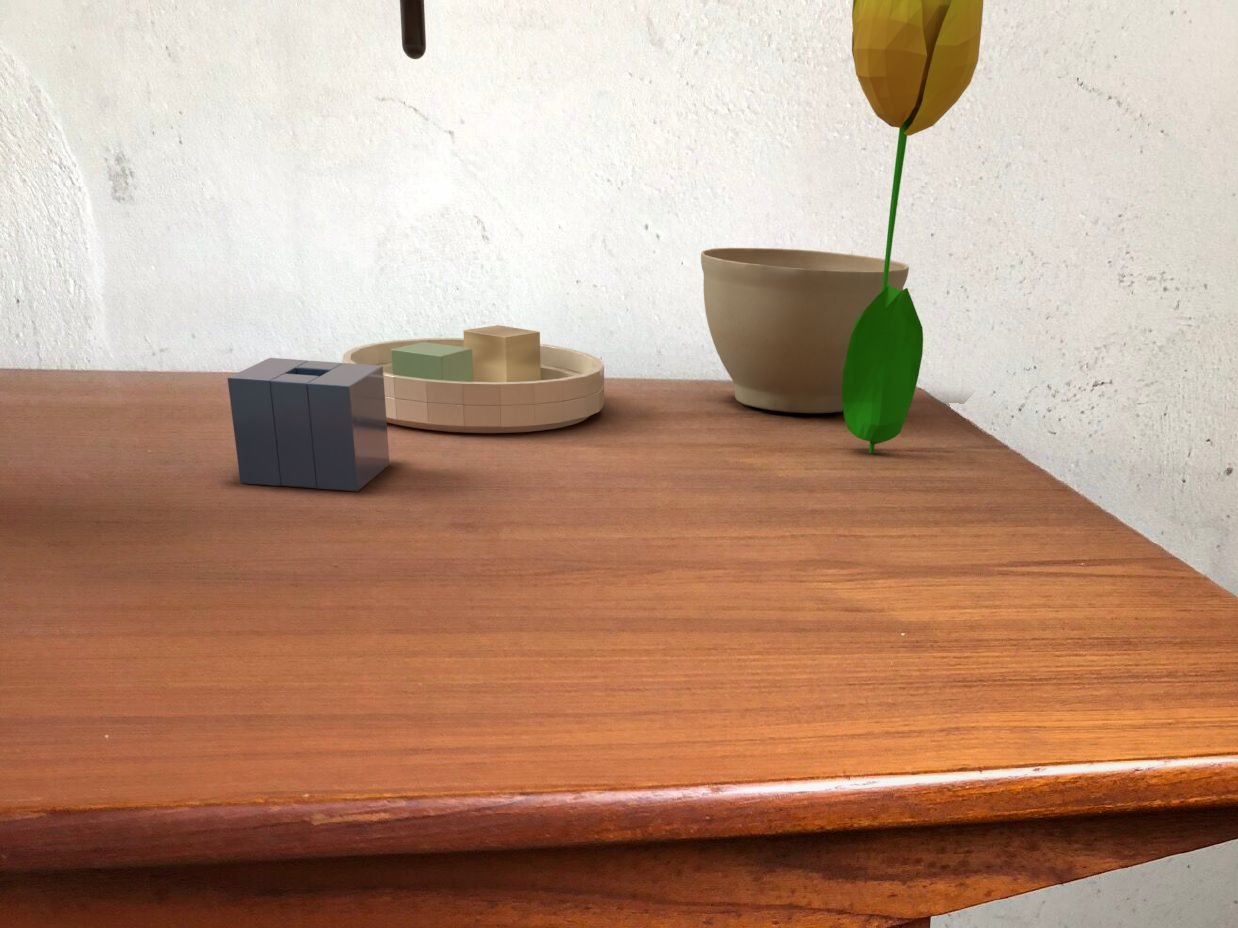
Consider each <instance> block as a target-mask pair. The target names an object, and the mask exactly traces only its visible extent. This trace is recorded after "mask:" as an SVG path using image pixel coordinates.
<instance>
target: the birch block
mask: <svg viewBox="0 0 1238 928" xmlns="http://www.w3.org/2000/svg"><path fill="white" fill-rule="evenodd" d="M462 333H463V338H464V347H465V348H472V354H473V380H474V382H526V381H540V380H541V378H540V344H541V332H540V331H537V330H531V329H525V328H518V327H513V326H512V327H511V326H506V325H500V324H497V325H489V326H483V327H476V328H470V329H469V328H468V329H464V330H463V332H462Z"/></svg>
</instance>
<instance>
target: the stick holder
mask: <svg viewBox="0 0 1238 928" xmlns="http://www.w3.org/2000/svg"><path fill="white" fill-rule="evenodd" d="M227 386H228V387H227V388H228V393H229V401H230V409H231V418H232V425H233V426H232V427H233V433H234V443H235V451H236V459H237V466H238V474H239V482H240V484H247V485H261V486H273V487H274V486H275V487H281V486H282V487H290V488H305V489H318V490H331V491H343V492H345V491H346V492H359V491H360V490H361V489H362V488H364V487H365V486H366V485H368V483H369V482H371V481H372V480H373V479H374V478H375V477H377V476H378V475H379V474H380V473H382V472H383V470H385V469H386V468H388V467H389V466H390V463H391V462H390V450H389V435H388V434H389V433H388V422H387V420H386V405H385V391H384V377H383V366H381V365H366V364H352V363H343V362H336V361H322V360H321V361H320V360H308V359H295V358H294V359H293V358H281V357H280V358H279V357H268V358H266V359H264V360H262V361H260V362H258V363H255V364H254V365H251V366H249V367H247V368H245V369H243V370H241V371H239V372H237V373H235V374H232V375H230V376H228V377H227Z"/></svg>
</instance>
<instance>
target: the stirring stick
mask: <svg viewBox="0 0 1238 928" xmlns="http://www.w3.org/2000/svg"><path fill="white" fill-rule="evenodd" d="M425 10H426V9H425V0H399V11H400V14H399V15H400V32H401V47H402V51H403V53H404V54H405V55H406V57H408V59H409V58H410V59H412V60H419V59H421V58H422V57H423V56H424V55H425V53H426V50H427V39H426V38H427V37H426V36H427V35H426V13H425Z"/></svg>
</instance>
